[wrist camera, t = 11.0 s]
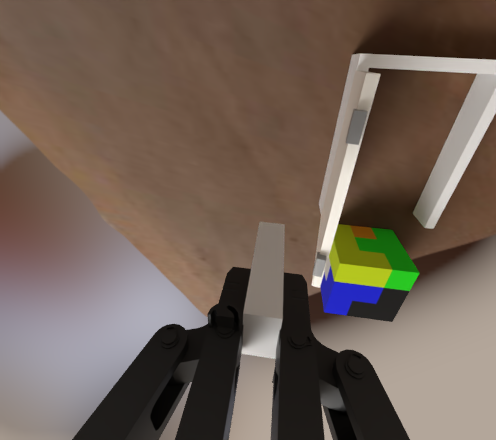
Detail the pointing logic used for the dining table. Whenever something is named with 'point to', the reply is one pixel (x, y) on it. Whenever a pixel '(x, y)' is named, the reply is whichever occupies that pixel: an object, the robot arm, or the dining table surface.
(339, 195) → the cover
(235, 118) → the dining table surface
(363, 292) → the puzzle toy
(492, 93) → the white hinged box
